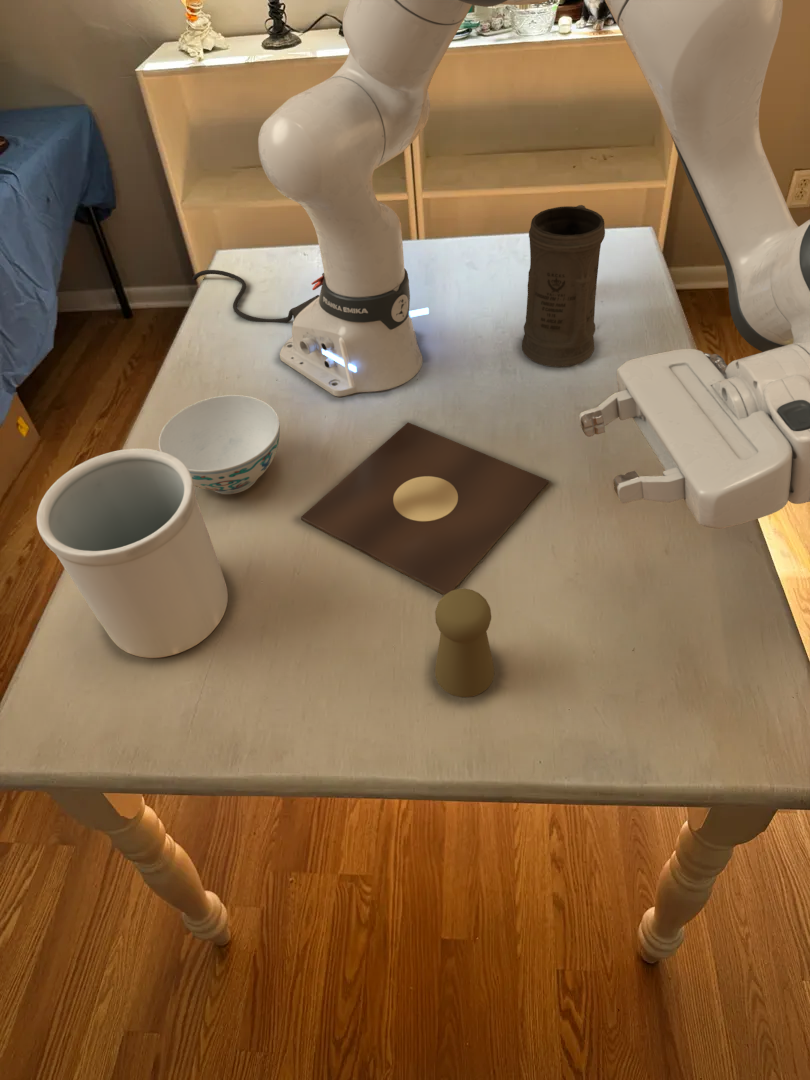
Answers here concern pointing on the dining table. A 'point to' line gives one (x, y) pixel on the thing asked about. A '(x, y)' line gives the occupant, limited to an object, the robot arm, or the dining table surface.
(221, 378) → the dining table surface
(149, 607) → the utensil holder
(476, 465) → the mat
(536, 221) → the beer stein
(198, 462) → the chinaware
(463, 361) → the dining table surface
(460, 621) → the olive brown pawn
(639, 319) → the dining table surface
